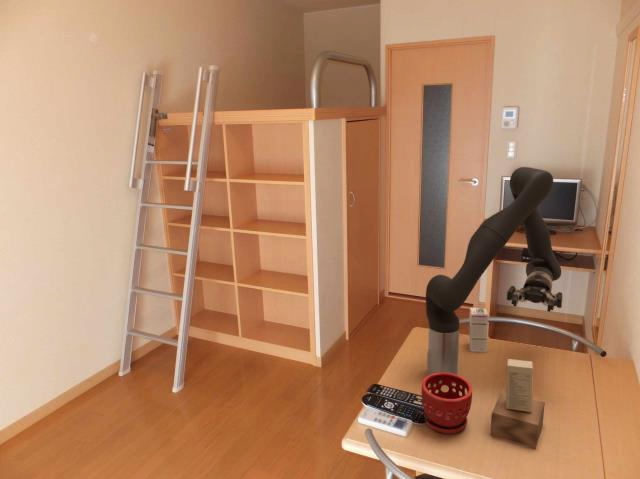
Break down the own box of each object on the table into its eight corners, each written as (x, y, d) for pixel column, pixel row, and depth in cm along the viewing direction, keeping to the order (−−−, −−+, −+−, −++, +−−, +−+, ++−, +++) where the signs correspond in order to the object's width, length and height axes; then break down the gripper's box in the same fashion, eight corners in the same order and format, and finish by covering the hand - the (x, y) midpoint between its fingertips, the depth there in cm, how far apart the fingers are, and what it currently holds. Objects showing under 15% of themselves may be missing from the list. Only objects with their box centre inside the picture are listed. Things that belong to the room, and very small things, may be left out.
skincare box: (531, 404, 127) (534, 361, 124) (531, 413, 123) (534, 368, 120) (505, 400, 129) (507, 357, 127) (504, 408, 125) (506, 364, 123)
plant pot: (410, 422, 132) (411, 383, 129) (441, 403, 140) (443, 366, 137) (449, 446, 122) (451, 405, 119) (480, 425, 130) (482, 385, 127)
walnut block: (490, 435, 126) (491, 412, 124) (500, 413, 135) (501, 391, 133) (535, 449, 120) (538, 425, 119) (542, 425, 129) (544, 402, 127)
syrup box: (487, 352, 167) (489, 314, 164) (469, 351, 169) (471, 313, 165) (485, 345, 173) (487, 307, 169) (467, 344, 174) (469, 306, 170)
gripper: (513, 271, 147) (505, 289, 134) (565, 277, 141) (562, 296, 127) (511, 294, 149) (503, 314, 136) (563, 301, 143) (559, 323, 129)
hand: (531, 305), depth 131 cm, fingers open, 8 cm apart
